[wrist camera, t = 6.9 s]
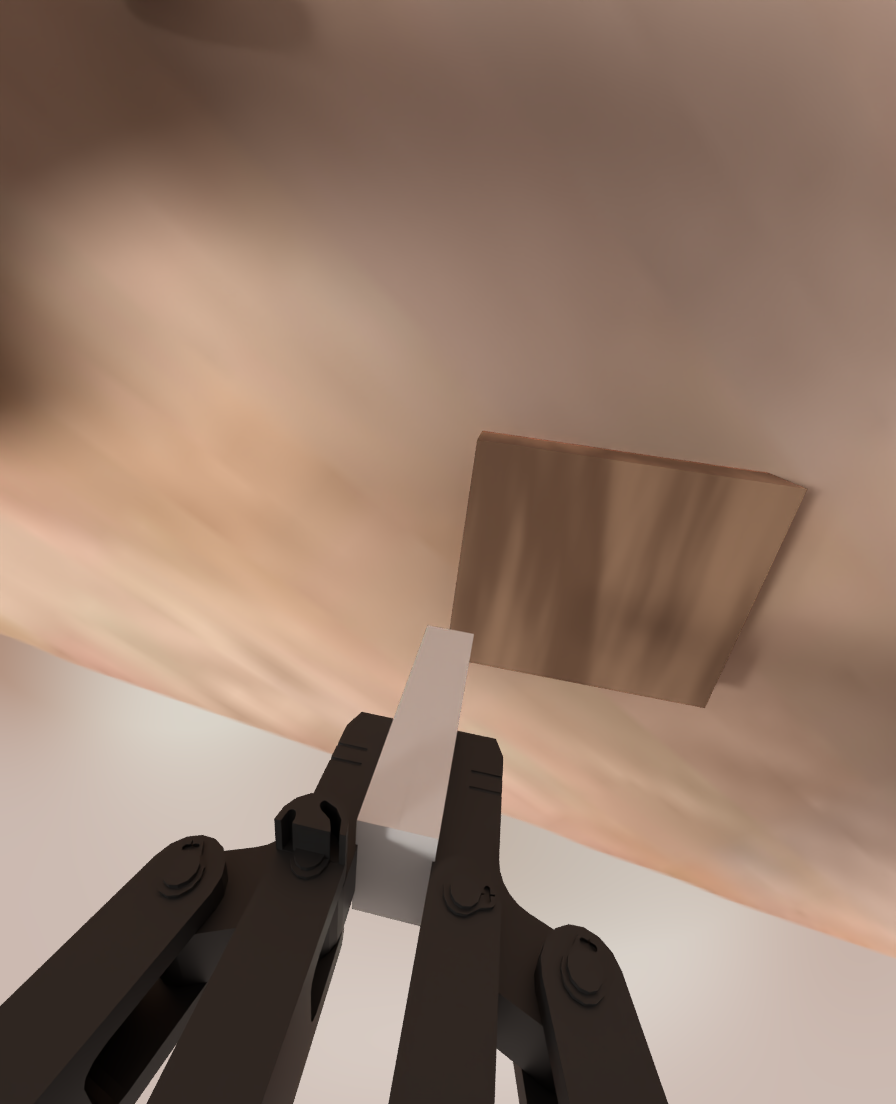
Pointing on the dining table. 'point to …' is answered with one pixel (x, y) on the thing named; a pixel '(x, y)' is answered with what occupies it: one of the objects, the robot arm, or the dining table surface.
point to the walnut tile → (613, 564)
